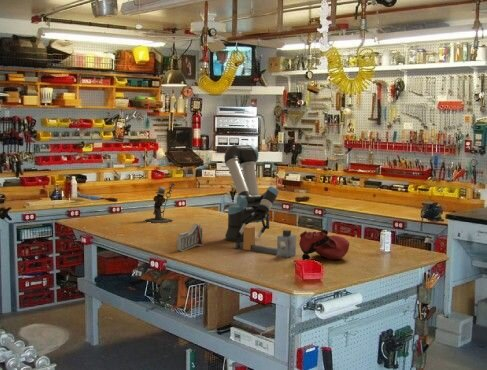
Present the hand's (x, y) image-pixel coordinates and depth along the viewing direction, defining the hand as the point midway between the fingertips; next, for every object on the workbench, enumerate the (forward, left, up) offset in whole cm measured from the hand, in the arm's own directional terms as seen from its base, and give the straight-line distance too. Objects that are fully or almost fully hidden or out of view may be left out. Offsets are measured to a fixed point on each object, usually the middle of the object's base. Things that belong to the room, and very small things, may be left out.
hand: (249, 234), depth 378 cm
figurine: (-112, +42, -9) cm, 120 cm away
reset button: (+28, -2, +1) cm, 28 cm away
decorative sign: (-29, -22, -9) cm, 38 cm away
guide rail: (+9, -2, -9) cm, 12 cm away
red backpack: (+48, +4, -9) cm, 49 cm away
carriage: (+1, -2, -9) cm, 9 cm away
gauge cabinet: (+28, -2, -9) cm, 29 cm away
